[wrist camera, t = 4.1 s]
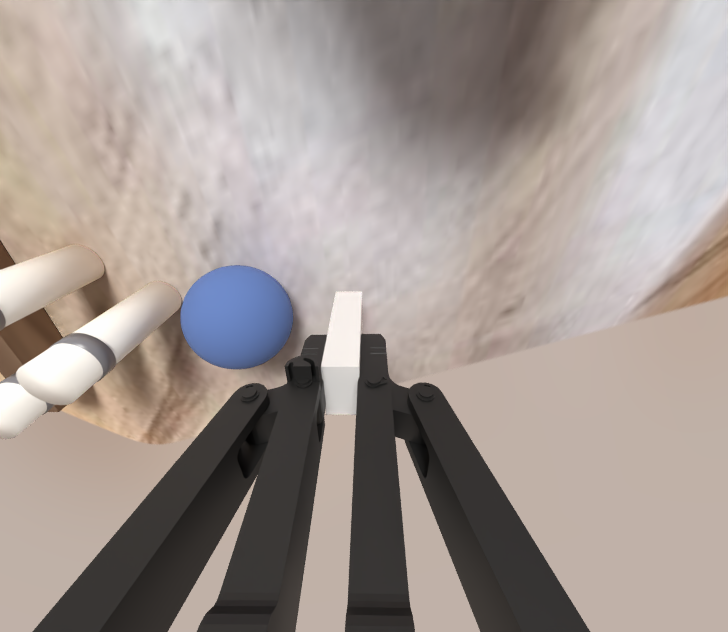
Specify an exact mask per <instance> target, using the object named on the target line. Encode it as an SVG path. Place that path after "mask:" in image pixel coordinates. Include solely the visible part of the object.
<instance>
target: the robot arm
mask: <svg viewBox="0 0 728 632" xmlns="http://www.w3.org/2000/svg"><path fill="white" fill-rule="evenodd" d="M362 331H363V330H362V292H336V294H335V299H334V304H333V309H332V314H331V319H330V324H329V329H328V334H327V335H310V336H309V337H308V338H307V339H306V340H305V343H304V346H303V349H302V353H301V356H298V357H295V358H293V359H291V360H290V361H288V362H287V363H286V365H285V371H286V376H287V384H285V385H283V386H281V387H278V388H274V389H270V390H267V388H266V387H265V386H264V385H261V384H259V383H252V384H248V385H245V386H243V387H241V388H239V389H238V390H237V391H236V392H235V393H234V394H233V395H232V396H231V397H230V399H229V400H228V401H227V402H226V403H225V405H224V406H223V407H222V408H221V409H220V410H219V412H218V413H217V414H216V415H215V416H214V418H213V419H212V420H211V421H210V422H209V423H208V425H207V426H206V427H205V428H204V429H203V431H202V432H201V433H200V434H199V435H198V436H197V438H196V439H195V440H194V441H193V442H192V444H191V445H190V446H189V447H188V448H187V450H186V451H185V452H184V453H183V454H182V455H181V457H180V458H179V459H178V460H177V461H176V463H175V464H174V465H173V466H172V467H171V469H170V470H169V471H168V472H167V473H166V474H165V476H164V477H163V478H162V479H161V480H160V482H159V483H158V484H157V485H156V486H155V487H154V489H153V490H152V491H151V492H150V493H149V494H148V496H147V497H146V498H145V499H144V501H143V502H142V503H141V504H140V505H139V506H138V508H137V509H136V510H135V511H134V512H133V514H132V515H131V516H130V517H129V518H128V519H127V521H126V522H125V523H124V524H123V525H122V527H121V528H120V529H119V530H118V531H117V532H116V534H115V535H114V536H113V537H112V538H111V539H110V541H109V542H108V543H107V544H106V546H105V547H104V548H103V549H102V550H101V551H100V553H99V554H98V555H97V556H96V557H95V559H94V560H93V561H92V562H91V563H90V564H89V566H88V567H87V568H86V569H85V570H84V572H83V573H82V574H81V575H80V576H79V577H78V579H77V580H76V581H75V582H74V583H73V585H72V586H71V587H70V588H69V589H68V590H67V592H66V593H65V594H64V595H63V596H62V598H61V599H60V600H59V601H58V602H57V603H56V605H55V606H54V607H53V608H52V610H51V611H50V612H49V613H48V614H47V615H46V616H45V618H44V619H43V620H42V621H41V622H40V624H39V625H38V626H37V627H36V628H35V630H34V631H33V632H168V630H169V628H170V626H171V625H172V623H173V621H174V619H175V618H176V616H177V614H178V613H179V611H180V609H181V607H182V606H183V604H184V602H185V600H186V598H187V597H188V595H189V593H190V592H191V590H192V588H193V586H194V585H195V583H196V581H197V579H198V578H199V576H200V574H201V572H202V571H203V569H204V567H205V565H206V563H207V562H208V560H209V558H210V556H211V555H212V553H213V551H214V550H215V548H216V546H217V545H218V543H219V541H220V539H221V538H222V536H223V534H224V532H225V531H226V529H227V527H228V525H229V524H230V522H231V520H232V518H233V517H234V515H235V513H236V511H237V510H238V508H239V506H240V504H241V502H242V501H243V499H244V497H245V496H246V494H247V492H248V490H249V489H250V487H251V485H252V484H253V482H254V480H255V478H256V477H257V479H256V482H255V485H254V488H253V491H252V495H251V498H250V501H249V504H248V507H247V510H246V513H245V516H244V520H243V523H242V526H241V529H240V532H239V535H238V538H237V541H236V545H235V548H234V551H233V554H232V557H231V560H230V563H229V566H228V569H227V572H226V576H225V579H224V582H223V585H222V588H221V591H220V594H219V597H218V599H217V602H216V603H215V605H214V607H212V608H211V609H210V610H209V611H208V612H207V613H206V614H205V616H204V618H203V620H202V621H201V623H200V625H199V628H198V630H197V632H295V629H296V622H297V615H298V608H299V601H300V594H301V587H302V581H303V573H304V565H305V560H306V552H307V546H308V539H309V532H310V525H311V518H312V511H313V504H314V497H315V490H316V483H317V476H318V469H319V463H320V456H321V449H322V442H323V435H324V428H325V421H324V413H325V410H326V415H356V430H355V454H354V476H353V497H352V521H351V543H350V566H349V587H348V605H347V613H346V624H345V632H415V629H414V622H413V615H412V612H411V608H410V602H409V591H408V580H407V568H406V557H405V545H404V534H403V523H402V511H401V499H400V488H399V478H398V465H397V455H396V443H395V437H398V438H401V439H404V440H405V443H406V446H407V448H408V451H409V453H410V456H411V458H412V461H413V463H414V466H415V468H416V471H417V473H418V476H419V478H420V481H421V483H422V486H423V488H424V491H425V493H426V496H427V499H428V501H429V503H430V506H431V509H432V511H433V514H434V516H435V519H436V521H437V524H438V526H439V529H440V531H441V534H442V536H443V539H444V541H445V544H446V546H447V548H448V551H449V554H450V556H451V559H452V561H453V564H454V566H455V569H456V571H457V574H458V576H459V579H460V581H461V584H462V586H463V589H464V591H465V594H466V597H467V599H468V601H469V604H470V607H471V609H472V612H473V614H474V617H475V619H476V622H477V624H478V627H479V629H480V632H590V631H589V629H588V628H587V626H586V624H585V623H584V621H583V619H582V618H581V616H580V615H579V613H578V611H577V610H576V608H575V607H574V605H573V603H572V602H571V600H570V599H569V597H568V595H567V594H566V592H565V591H564V589H563V587H562V586H561V584H560V582H559V581H558V579H557V578H556V576H555V574H554V573H553V571H552V569H551V568H550V566H549V565H548V563H547V561H546V560H545V558H544V556H543V555H542V553H541V552H540V550H539V548H538V547H537V545H536V544H535V542H534V540H533V539H532V537H531V535H530V534H529V532H528V531H527V529H526V527H525V526H524V524H523V523H522V521H521V519H520V518H519V516H518V515H517V513H516V511H515V510H514V508H513V506H512V505H511V503H510V502H509V500H508V498H507V497H506V495H505V493H504V492H503V490H502V489H501V487H500V486H499V484H498V482H497V481H496V479H495V477H494V476H493V474H492V472H491V471H490V469H489V468H488V466H487V464H486V463H485V461H484V460H483V458H482V456H481V455H480V453H479V451H478V450H477V448H476V447H475V445H474V444H473V442H472V440H471V439H470V437H469V435H468V434H467V432H466V430H465V429H464V427H463V426H462V424H461V422H460V421H459V419H458V418H457V416H456V414H455V413H454V411H453V410H452V408H451V406H450V405H449V403H448V401H447V400H446V398H445V397H444V395H443V393H442V392H441V391H440V390H439V388H438V387H436V386H434V385H432V384H429V383H417V384H414V385H413V386H412V387H411V388H410V389H409V388H405V387H402V386H399V385H397V384H395V383H394V382H393V381H392V380H391V379H390V378H389V375H388V365H387V354H386V342H385V339H384V338H383V336H382V335H381V334H362ZM257 475H258V476H257Z"/></svg>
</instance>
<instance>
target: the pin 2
mask: <svg viewBox="0 0 728 632" xmlns="http://www.w3.org/2000/svg"><path fill="white" fill-rule="evenodd" d="M53 406H55V404H51V403H47V402H44V401H42V400H40V399H38V398H36V397H34V396H32V395H31V394H29V393H28V392H27V391H26V390H25V389H24V388H23V387H22V386H21V385H20V384H19V382H18V380H17V377H16V373H14V374H12V375H11V376H9V377H7V378H6V379H4V380H3V381H1V382H0V438H2V439H11V438H14V437H16V436H17V435H18V434H20V433H21V432H22V431H23V430H24V429H25V428H27V427H28V426H29V425H30V424H31V423H33V422H34V421H35V420H36V419H38V418H39V417H40V416H41V415H43V414H45V413H46V412H48V411H49V410H50V409H51V408H52V407H53Z"/></svg>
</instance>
